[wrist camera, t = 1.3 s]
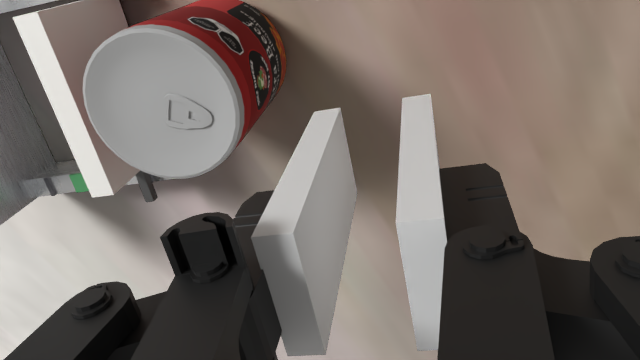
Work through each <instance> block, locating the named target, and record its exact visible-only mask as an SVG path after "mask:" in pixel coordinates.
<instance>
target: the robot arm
mask: <svg viewBox="0 0 640 360" xmlns="http://www.w3.org/2000/svg"><path fill="white" fill-rule="evenodd" d="M356 198H357V188H356V183H355V178H354V173H353V168H352V163H351V158H350V153H349V148H348V143H347V138H346V133H345V128H344V123H343V118H342V113H341V108H334V109H328V110H321V111H315V112H314V113H313V115H312V117H311V119H310V121H309V123H308V125H307V127H306V129H305V131H304V133H303V135H302V137H301V139H300V141H299V143H298V145H297V147H296V149H295V151H294V153H293V155H292V157H291V159H290V161H289V163H288V165H287V167H286V169H285V171H284V173H283V175H282V177H281V179H280V181H279V182H278V184H277V186H276V188H275V190H273V191H265V192H257V193H255V194H254V195H253V196H252V197H250V198H249V199H248V200H247V201H245V202H244V203H243V204H242V205H241V207H240V209H239V210H238V212H237V214H236V216H235V217H236V218H234V219H232V218H231V217H230V216H229V215H228V214H224V213H219V212H215V213H204V214H200V215H196V216H192V217H190V218H187V219H185V220H182V221H180V222H178V223H177V224H175V225H173V226H172V227H170V228H169V229H167V230H166V231H165V233H164V234H163V235H162V236H161V237H160V238H161V241H162V243H163V246H164V248H165V251H166V253H167V256H168V258H169V261H170V264H171V266H172V269H173V271H174V274H175V277H174V279H173V281H172V283H171V285H170V287H169V289H168V290H167V291H166V292H163V293H159V294H156V295H152V296H149V297H145V298H142V299H138V300H135V298H134V296H133V293H132V291H131V289H130V288H129V287H128V285H127V284H126V283H121V282H108V283H101V284H97V285H96V286H95V285H94V286H91V287H88V288H87V289H85V290H84V291H82V292H80V293H79V294H77V295H75V296H74V297H73V298H71V299H70V300H69V301H67V302H66V303H65V304H63V305H62V306H61V307H60V308H59V309H58V310H57V311H56V312H55V313H54V314H53V315H52V316H51V317H49V318H48V319H47V320H46V321H45V322H44V323H43V324H42V325H41V326H40V327H39V328H38V329H36V330H35V331H34V332H33V333H32V334H31V335H30V336H29V337H28V338H27V339H26V340H25V341H23V342H22V343H21V344H20V345H19V346H18V347H17V348H16V349H15V350H14V351H13V352H12V353H10V354H9V355H8V356H7V357H6V358H5V359H4V360H278V359H277V355H276V348H277V345H278V342H279V339H280V336H282V339H283V343H284V346H285V349H286V352H287V356H304V355H326V350H327V345H328V340H329V335H330V330H331V325H332V320H333V315H334V310H335V305H336V300H337V295H338V289H339V284H340V279H341V274H342V269H343V264H344V259H345V254H346V249H347V244H348V239H349V234H350V229H351V224H352V219H353V213H354V208H355V203H356ZM396 227H397V233H398V239H399V245H400V250H401V256H402V262H403V268H404V274H405V280H406V286H407V291H408V297H409V303H410V309H411V315H412V321H413V327H414V332H415V338H416V344H417V350H418V351H424V350H438V360H640V236H635V237H619V238H616V239H613V240H609V241H606V242H603V243H602V244H600V245H599V246H598V247H596V248H595V249H594V250H593V252H592V255H591V258H590V262H589V261H579V260H570V259H564V258H558V257H553V256H550V255H547V254H544V253H541V252H539V251H537V250H535V249H534V248H533V245H532V244H531V242H530V240H529V239H528V237H527V236H526V235H524V234H523V233H521V232H519V229H518V226H517V223H516V220H515V217H514V214H513V211H512V208H511V205H510V203H509V200H508V197H507V194H506V191H505V188H504V186H503V182H502V179H501V176H500V173H499V172H498V171H496V170H495V169H493V168H492V167H490V166H489V165H487V164H486V163H485V164H476V165H468V166H460V167H451V168H443V169H440V166H439V158H438V150H437V142H436V133H435V125H434V117H433V109H432V101H431V94H426V95H419V96H413V97H406V98H402V114H401V133H400V152H399V171H398V191H397V210H396Z"/></svg>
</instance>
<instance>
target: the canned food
mask: <svg viewBox="0 0 640 360" xmlns="http://www.w3.org/2000/svg"><path fill="white" fill-rule="evenodd" d="M285 73H286V55H285V49H284V46H283V43H282V40H281V38H280V35H279V34H278V32H277V30H276V29H275V27H274V25H273V24H272V23H271V22H270V21H269V20H268V18H267V17H266V16H264V15H263V14H262V13H261V12H259V11H258V10H257V9H256V8H254V7H252V6H250V5H248V4H247V3H245V2H242V1H239V0H200V1H197V2H194V3H191V4H189V5H186V6H183V7H181V8H178V9H175V10H173V11H170V12H167V13H164V14H162V15H159V16H156V17H154V18H151V19H148V20H146V21H143V22H140V23H138V24H135V25H132V26H131V27H129V28H126V29H123V30H121V31H119V32H118V33H116V34H114V35H113V36H111V37H110V38H108V39H107V40H105V41H104V42H103V43H102V44H101V45H100V46H99V47H98V48H97V49H96V50H95V51H94V53H93V54H92V56H91V58H90V59H89V61H88V63H87V66H86V69H85V73H84V76H83V97H84V104H85V108H86V111H87V114H88V117H89V120H90V121H91V123H92V125H93V127H94V129H95V131H96V133H97V134H98V135H99V137H100V138H101V139H102V141H103V142H104V143H105V144H106V146H107V147H108V148H109V149H110V150H112V151H113V152H114V153H115V154H116V155H117V156H118V157H119V158H121V159H122V160H124V161H125V162H126V163H128V164H129V165H131V166H133V167H135V168H137V169H139V170H141V171H143V172H145V173H148V174H151V175H154V176H157V177H163V178H170V179H187V178H191V177H196V176H200V175H202V174H204V173H207V172H209V171H211V170H213V169H214V168H215V167H217V166H218V165H219V164H221V163H222V162H223V161H224V160H226V159H227V158H228V157H229V155H230V154H231V153H232V152H233V151H234V149H235V148H236V147H237V146H238V145H239V143H240V142H241V141H242V140H243V138H244V137H245V136H246V134H247V133H248V132H249V130H250V129H251V128H252V126H253V125H254V124H255V122H256V121H257V120H258V118H259V117H260V116H261V114H262V113H263V112H264V110H265V109H266V108H267V106H268V105H269V104H270V102H271V101H272V100H273V98H274V97H275V96H276V94H277V93H278V91H279V89H280V87H281V85H282V83H283V81H284V77H285Z"/></svg>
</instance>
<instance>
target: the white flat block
mask: <svg viewBox="0 0 640 360" xmlns="http://www.w3.org/2000/svg"><path fill="white" fill-rule="evenodd" d="M12 18H13V20H14V22H15V24H16V27H17V29H18V31H19V33H20V36H21V38H22V40H23V42H24V45H25V47H26V49H27V51H28V54H29V56H30V58H31V60H32V63H33V65H34V67H35V70H36V72H37V74H38V76H39V79H40V81H41V83H42V85H43V88H44V90H45V92H46V94H47V97H48V99H49V101H50V103H51V106H52V108H53V110H54V113H55V115H56V117H57V119H58V122H59V124H60V126H61V128H62V131H63V133H64V135H65V137H66V140H67V142H68V144H69V146H70V149H71V151H72V153H73V156H74V158H75V160H76V162H77V165H78V167H79V169H80V171H81V174H82V176H83V178H84V180H85V183H86V185H87V187H88V189H89V192H90V194H91V196H92V198H93V197H101V196H109V195H114V194H116V193H117V192H118V191H119V190H120V189H121V188H122V187H123V186H124V185H125V184H126V183H127V182H128V181H130V180H131V179H132V178H133V177H134V176H136V178H137V181H138V183H139V186H140V188H141V191H142V193H143V196H144V198H145V201H146V202H152V201H155V199H156V198H157V194H156V192H155V189H154V186H153V184H152V181H151V179H150V176H149V174H148V173H145V172H143V171H141V170H139V169H137V168H135V167H133V166H131V165H129V164H128V163H126V162H125V161H124V160H122V159H121V158H119V157H118V156H117V155H116V154H115V153H114V152H113V151H112V150H110V149H109V148H108V147H107V146H106V144H105V143H104V142H103V141H102V139H101V138H100V137H99V135H98V134H97V133H96V131H95V129H94V127H93V125H92V123H91V121H90V120H89V117H88V114H87V111H86V108H85V104H84V97H83V76H84V73H85V69H86V66H87V63H88V61H89V59H90V58H91V56H92V54H93V53H94V51H95V50H96V49H97V48H98V47H99V46H100V45H101V44H102V43H103V42H104V41H105V40H107V39H108V38H110V37H111V36H113V35H114V34H116V33H118V32H119V31H121V30H123V29H126V28H129V27H128V24H127V21H126V18H125V16H124V13H123V10H122V7H121V4H120V1H119V0H80V1H76V2H72V3H68V4H64V5H60V6H56V7H52V8H48V9H44V10H40V11H36V12H32V13H28V14H24V15H20V16H16V17H12Z"/></svg>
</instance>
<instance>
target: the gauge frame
mask: <svg viewBox="0 0 640 360" xmlns="http://www.w3.org/2000/svg"><path fill="white" fill-rule="evenodd" d="M52 1H57V0H0V14H1V13H5V12H9V11H14V10H18V9H22V8H27V7H31V6H35V5H40V4H44V3H48V2H52ZM149 176H150V179H151V181H152V183H153V182H154V181H161V180H169V179H170V178H163V177H157V176H154V175H151V174H149ZM131 184H138V181H137V178H136V176H134V177H133V178H132V179H131V180H130V181H128V182H127V183H126V184H125V185H131ZM85 191H89V189H88V187H87V185H86V183H85V180H84V178H83V176H82V174H81V171H80V169H79V167H78V165H77V162H76V160H70V161H63V162H56V163H55V161H54V159H53V156H52V154H51V152H50V150H49V148H48V145H47V143H46V141H45V139H44V137H43V135H42V132H41V130H40V128H39V126H38V124H37V122H36V119H35V117H34V115H33V113H32V111H31V109H30V106H29V104H28V102H27V100H26V98H25V96H24V93H23V91H22V89H21V87H20V85H19V83H18V80H17V78H16V76H15V74H14V72H13V70H12V67H11V65H10V63H9V61H8V59H7V56H6V54H5V52H4V50H3V48H2V46H1V43H0V225H1V224H3V223H4V222H5V221H7V220H8V219H9V218H11V217H12V216H13V215H15V214H16V213H17V212H19V211H20V210H21V209H23V208H24V207H25V206H27V205H28V204H29V203H31V202H32V201H33V200H35V199H36V198H37V197H39V196H47V195H51V196H55V195H56V194H62V193H70V192H77V193H78V192H85Z"/></svg>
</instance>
